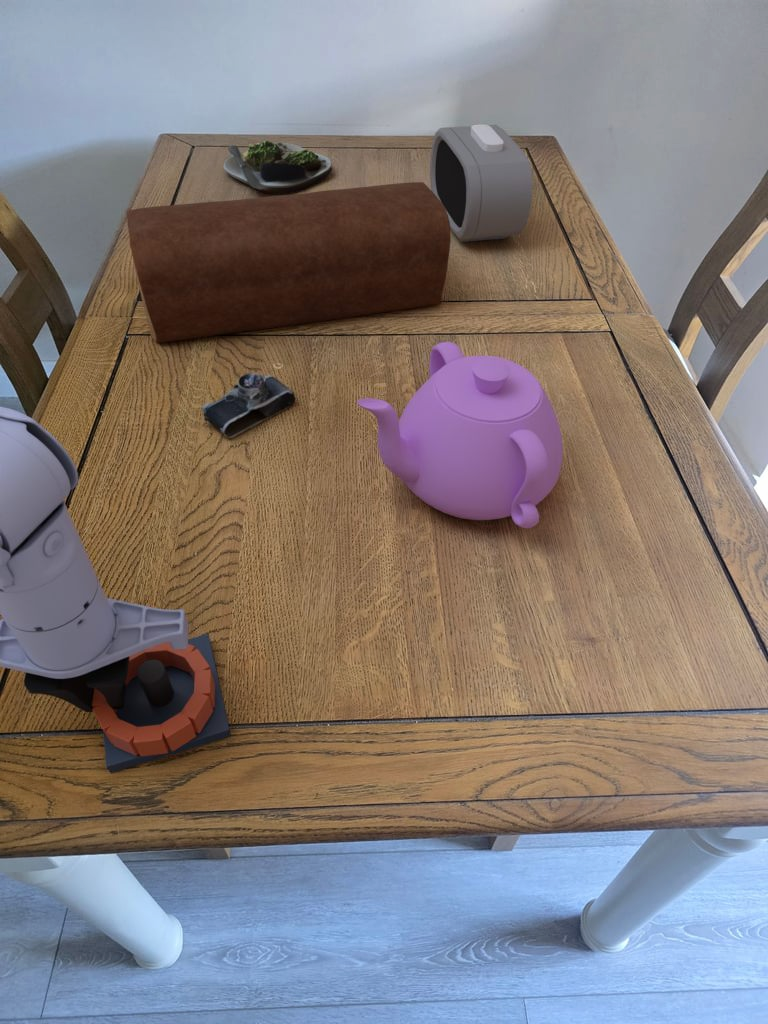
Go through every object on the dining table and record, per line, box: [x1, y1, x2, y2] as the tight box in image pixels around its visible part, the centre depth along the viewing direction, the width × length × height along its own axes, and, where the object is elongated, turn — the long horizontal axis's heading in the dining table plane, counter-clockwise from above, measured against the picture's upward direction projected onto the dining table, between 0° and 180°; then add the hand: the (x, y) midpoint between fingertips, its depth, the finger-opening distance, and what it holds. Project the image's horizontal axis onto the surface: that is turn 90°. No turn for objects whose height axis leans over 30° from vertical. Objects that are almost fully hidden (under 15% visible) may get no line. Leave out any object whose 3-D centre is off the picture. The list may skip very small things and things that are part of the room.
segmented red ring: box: [92, 642, 215, 756], centre depth 54 cm, size 8×8×2 cm
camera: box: [201, 372, 297, 439], centre depth 79 cm, size 5×10×4 cm, turn 133°
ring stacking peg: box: [102, 633, 232, 774], centre depth 54 cm, size 9×9×5 cm
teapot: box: [356, 341, 563, 529], centre depth 69 cm, size 22×22×14 cm
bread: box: [125, 181, 452, 344], centre depth 92 cm, size 16×39×13 cm, turn 107°
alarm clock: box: [429, 124, 534, 243], centre depth 109 cm, size 21×10×13 cm, turn 13°
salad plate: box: [223, 140, 333, 196], centre depth 123 cm, size 19×18×5 cm
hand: (106, 698), depth 53 cm, fingers closed on segmented red ring, 1 cm apart
